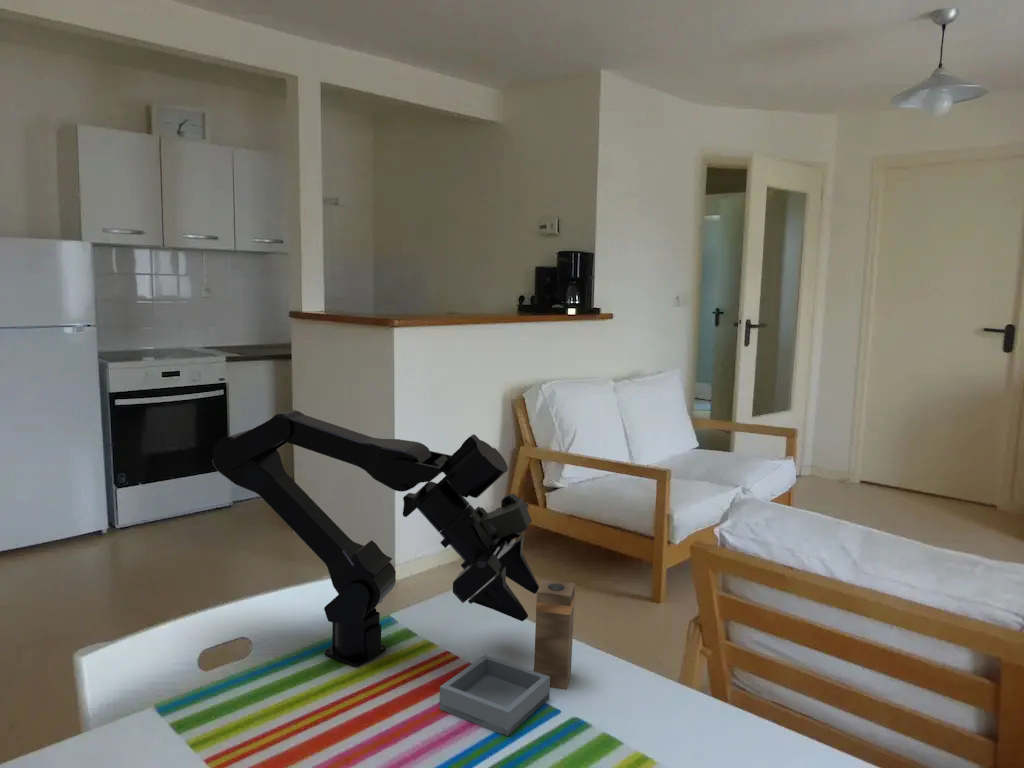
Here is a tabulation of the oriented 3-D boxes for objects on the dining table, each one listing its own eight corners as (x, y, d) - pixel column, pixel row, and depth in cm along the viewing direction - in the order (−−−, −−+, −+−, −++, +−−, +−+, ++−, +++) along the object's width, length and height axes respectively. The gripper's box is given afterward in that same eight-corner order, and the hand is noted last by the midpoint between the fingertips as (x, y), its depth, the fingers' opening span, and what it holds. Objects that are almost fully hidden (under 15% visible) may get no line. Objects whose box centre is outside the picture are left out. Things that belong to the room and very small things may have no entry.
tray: (439, 709, 93) (440, 686, 93) (484, 675, 102) (485, 654, 102) (507, 736, 88) (508, 712, 88) (549, 698, 97) (550, 676, 96)
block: (532, 685, 100) (536, 591, 98) (538, 668, 104) (542, 578, 103) (566, 689, 99) (571, 595, 97) (571, 672, 104) (575, 582, 102)
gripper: (479, 499, 91) (565, 595, 90) (510, 465, 109) (582, 545, 108) (417, 555, 94) (500, 649, 93) (457, 513, 112) (528, 591, 111)
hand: (531, 604), depth 101 cm, fingers open, 9 cm apart
